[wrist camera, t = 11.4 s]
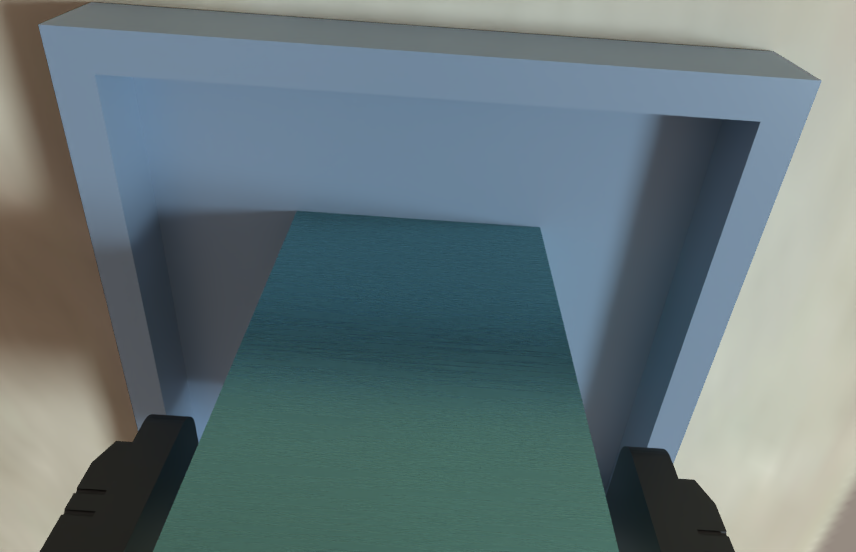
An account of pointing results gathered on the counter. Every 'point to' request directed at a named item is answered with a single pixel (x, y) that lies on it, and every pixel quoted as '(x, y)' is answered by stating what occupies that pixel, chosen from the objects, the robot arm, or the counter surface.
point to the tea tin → (398, 402)
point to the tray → (422, 181)
